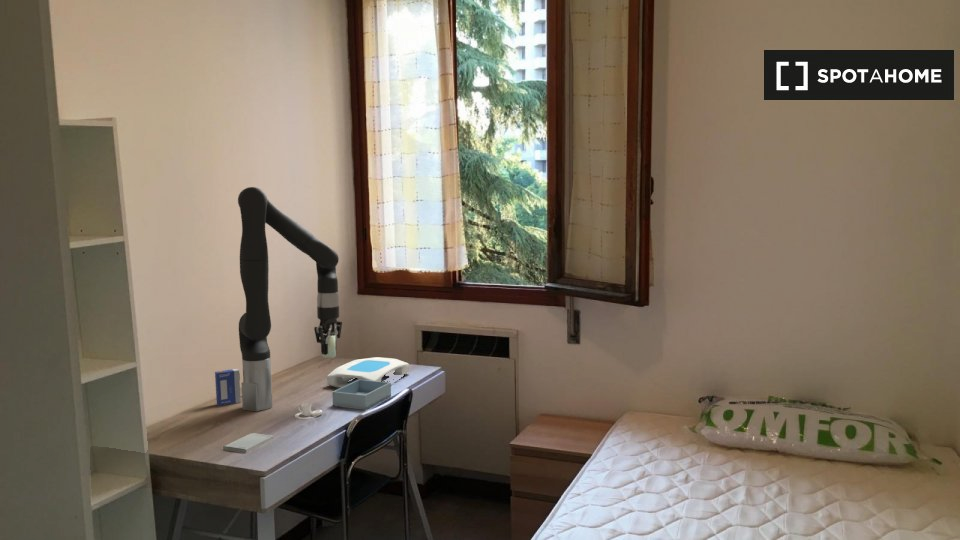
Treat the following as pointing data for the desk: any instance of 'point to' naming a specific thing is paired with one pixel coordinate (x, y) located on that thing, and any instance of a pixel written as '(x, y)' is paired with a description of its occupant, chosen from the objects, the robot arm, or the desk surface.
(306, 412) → the teacup and saucer
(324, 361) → the desk surface
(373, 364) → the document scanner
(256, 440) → the hard drive
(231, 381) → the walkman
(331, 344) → the mint green capsule
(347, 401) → the bin
